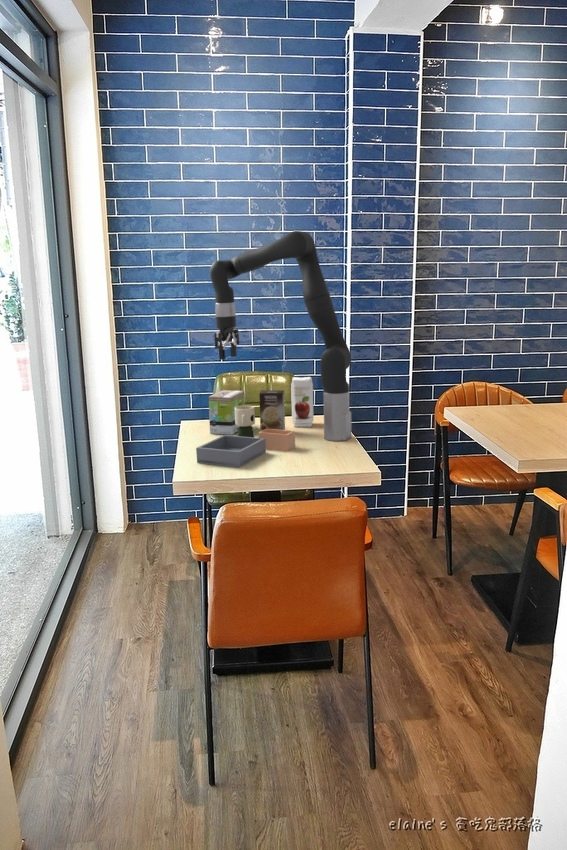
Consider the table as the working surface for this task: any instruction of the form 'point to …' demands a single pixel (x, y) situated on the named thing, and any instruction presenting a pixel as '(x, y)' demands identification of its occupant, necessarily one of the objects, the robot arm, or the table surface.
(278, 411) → the coffee box
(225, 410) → the tea box
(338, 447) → the table surface
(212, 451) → the charcoal crate
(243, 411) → the character mug
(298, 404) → the juice carton
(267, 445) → the terracotta crate
